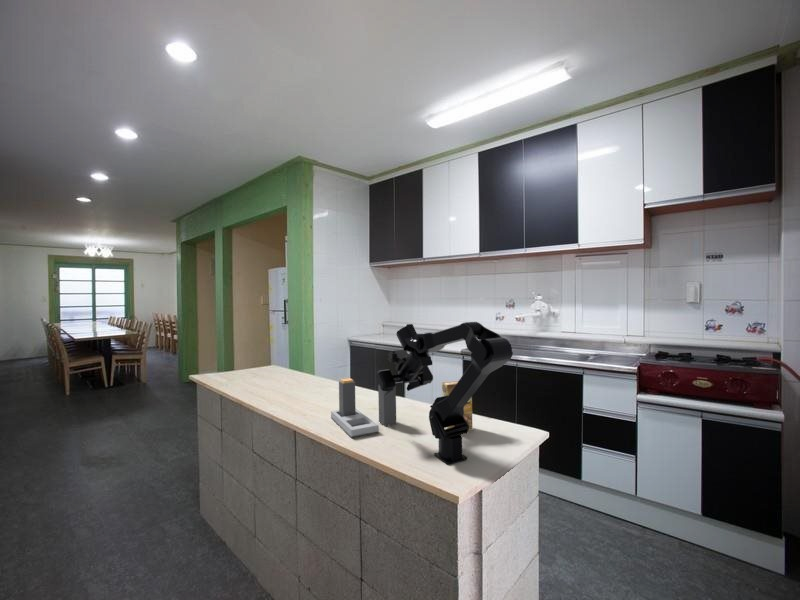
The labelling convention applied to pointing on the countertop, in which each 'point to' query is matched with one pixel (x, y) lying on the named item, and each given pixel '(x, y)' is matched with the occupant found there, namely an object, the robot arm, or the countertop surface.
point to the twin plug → (347, 397)
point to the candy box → (447, 389)
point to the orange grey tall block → (387, 407)
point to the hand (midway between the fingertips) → (395, 391)
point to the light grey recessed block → (355, 424)
